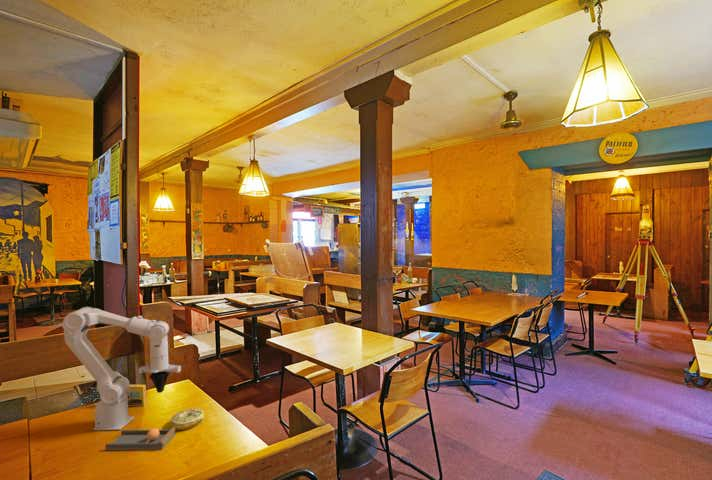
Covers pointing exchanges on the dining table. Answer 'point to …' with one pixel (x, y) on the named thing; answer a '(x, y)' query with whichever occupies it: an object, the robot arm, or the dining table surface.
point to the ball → (153, 434)
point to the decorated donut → (187, 419)
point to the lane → (140, 440)
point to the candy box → (136, 395)
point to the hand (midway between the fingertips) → (160, 391)
